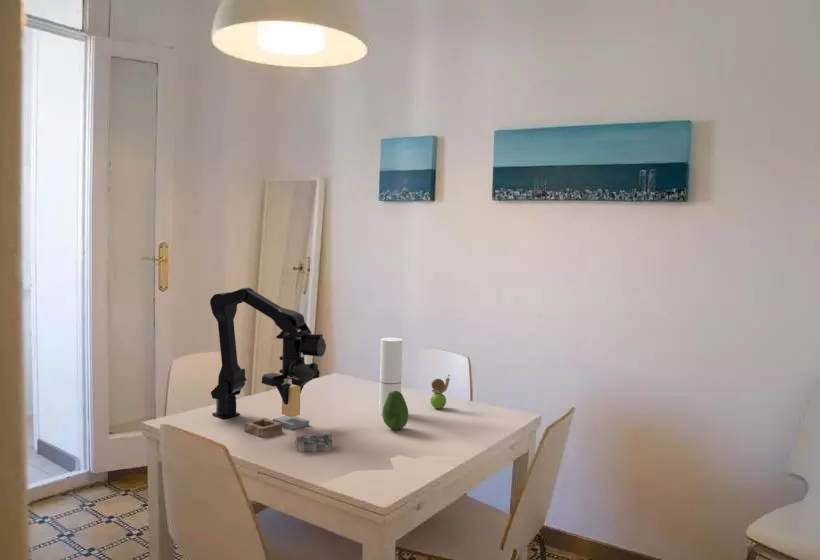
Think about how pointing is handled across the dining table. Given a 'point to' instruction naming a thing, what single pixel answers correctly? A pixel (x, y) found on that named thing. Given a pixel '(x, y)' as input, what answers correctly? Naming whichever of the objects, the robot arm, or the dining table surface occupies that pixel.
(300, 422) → the grey rubber mat
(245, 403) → the dining table surface
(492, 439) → the dining table surface
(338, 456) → the dining table surface
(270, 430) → the brown square frame
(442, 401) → the snail figurine
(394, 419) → the avocado
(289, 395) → the amber plug
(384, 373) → the cylindrical container
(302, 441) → the egg carton
